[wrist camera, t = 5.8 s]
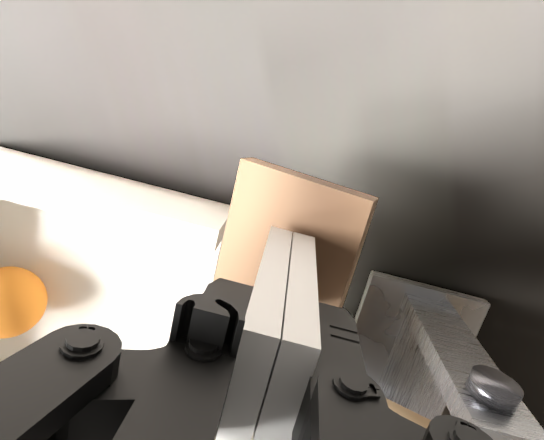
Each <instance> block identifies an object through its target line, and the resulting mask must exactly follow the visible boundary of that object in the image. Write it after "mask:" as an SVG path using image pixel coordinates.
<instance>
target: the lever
mask: <svg viewBox="0 0 544 440" xmlns="http://www.w3.org/2000/svg"><path fill="white" fill-rule="evenodd" d="M378 199H379V197H375V196H372V195H369V194H366V193H363V192H360V191H357V190H353V189H350V188H347V187H344V186H341V185H338V184H335V183H332V182H328V181H325V180H322V179H319V178H316V177H313V176H310V175H307V174H303V173H300V172H297V171H294V170H291V169H288V168H285V167H282V166H278V165H275V164H272V163H269V162H266V161H263V160H260V159H257V158H253V157H251V158H240V163H239V167H238V172H237V176H236V181H235V185H234V190H233V195H232V199H231V204H230V208H229V213H228V218H227V222H226V227H225V231H224V236H223V240H222V245H221V250H220V254H219V259H218V263H217V268H216V272H215V277H214V281H215V280H217V279H218V278H223V279H227V280H231V281H234V282H238V283H242V284H246V285H250V286H254V284H255V281H256V277H257V274H258V270H259V267H260V263H261V260H262V256H263V253H264V249H265V246H266V243H267V239H268V236H269V232H270V229H271V226H273V227H276V228H280V229H284V230H288V231H292V236H293V232H296V233H300V234H304V235H307V236H311V237H315V249H316V266H317V284H318V301H319V302H321V303H325V304H328V305H332V306H336V307H340V308H343V305H344V302H345V299H346V296H347V293H348V290H349V287H350V284H351V281H352V277H353V274H354V271H355V268H356V265H357V262H358V259H359V256H360V253H361V250H362V247H363V244H364V241H365V238H366V235H367V232H368V229H369V226H370V223H371V220H372V217H373V214H374V211H375V208H376V205H377V202H378ZM386 400H387V404H388V407H389V408H390V409H391V410H392V411H394V412H396V413H397V414H399V415H401V416H402V417H404V418H406V419H408V420H410V421H412V422H414V423H416V424H418V425H420V426H422V427H424V428H426V429H427V427H428V425H429V423H430V421H431V420H430V419H428V418H426V417H423V416H421V415H419V414H417V413H415V412H413V411H411V410H409V409H407V408H405V407H403V406H401V405H399V404H397V403H395V402H393V401H391V400H389V399H387V398H386ZM252 438H253V436H252ZM251 440H252V439H251Z"/></svg>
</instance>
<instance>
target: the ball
mask: <svg viewBox="0 0 544 440" xmlns="http://www.w3.org/2000/svg"><path fill="white" fill-rule="evenodd" d="M47 302H48V295H47V290H46V287H45V285H44V283H43V282H42V281H41V279H40V278H39V277H38V276H37V275H35V274H34V273H33V272H31V271H29V270H27V269H24V268H20V267H14V266H6V267H0V339H3V338H11V337H15V336H18V335H20V334H23V333H25V332H27V331H28V330H30V329H31V328H32V327H34V326H35V325H36V324H37V323H38V322H39V320H40V319H41V318H42V316H43V314H44V312H45V310H46V307H47Z"/></svg>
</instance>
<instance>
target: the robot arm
mask: <svg viewBox="0 0 544 440" xmlns="http://www.w3.org/2000/svg"><path fill="white" fill-rule="evenodd" d="M357 333H358V331H357V327H356V322H355V320H354V319H353V317H352V316H351V315H350V314H349V312H348V311H347V310H346V309H344V308H340V307H336V306H332V305H328V304H325V303H321V302H319V301H318V284H317V266H316V249H315V237H311V236H307V235H304V234H300V233H296V232H293V236H292V231H288V230H284V229H280V228H276V227H273V226H271V229H270V232H269V236H268V239H267V243H266V246H265V249H264V253H263V256H262V260H261V263H260V267H259V270H258V274H257V277H256V281H255V284H254V286H250V285H246V284H242V283H238V282H234V281H231V280H227V279H223V278H218V279H217V280H215V281H213V282H211V283H209V284H208V285H207V287H206V289H205V291H204V293H203V294H192V295H189V296H185V297H182V298H181V299H180V300H179V301H178V302H177V303H176V305H175V311H174V316H173V321H172V326H171V332H170V337H169V341H168V343H167V345H166V346H164V347H161V348H156V349H149V350H130V349H122V341H121V339H120V338H119V336H118V334H116V333H115V332H113V331H112V330H110V329H109V328H106V327H103V326H99V325H96V324H76V325H69V326H65V327H62V328H60V329H57V330H55V331H52V332H51V333H49V334H47V335H45V336H44V337H42V338H40V339H39V340H37V341H35V342H33V343H32V344H30V345H28V346H27V347H25V348H23V349H21V350H20V351H18V352H16V353H15V354H13V355H11V356H9V357H8V358H6V359H4V360H2V361H1V362H0V440H251V439H252V440H493V439H492V438H491V437H490V436H489V435H488V434H487V433H485V432H484V431H482V430H481V429H480V428H478V427H477V426H476V425H474V424H472V423H470V422H468V421H466V420H463V419H461V418H458V417H454V416H450V415H440V416H436V417H435V418H433V419H432V420H431V421H430V423H429V425H428V427H427V429H426V428H424V427H422V426H420V425H418V424H416V423H414V422H412V421H410V420H408V419H406V418H404V417H402V416H401V415H399V414H397V413H396V412H394V411H392V410H391V409H390V408H389V407H388V404H387V400H386V397H385V395H384V393H383V391H382V389H381V387H380V386H379V385H378V384H377V383H376V382H375V381H374V380H373V379H372V378H371V377H369V376H368V375H367V372H366V368H365V363H364V358H363V354H362V349H361V345H360V344H359V343H360V340H359V336H358V334H357ZM252 436H253V438H252Z"/></svg>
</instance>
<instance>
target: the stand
mask: <svg viewBox="0 0 544 440" xmlns="http://www.w3.org/2000/svg"><path fill="white" fill-rule="evenodd" d="M490 306H491V305H490V303H489V302H488V301H487V300H486V299H483V298H479V297H475V296H471V295H467V294H463V293H459V292H455V291H451V290H447V289H444V288H440V287H436V286H432V285H428V284H424V283H420V282H416V281H412V280H408V279H404V278H400V277H397V276H393V275H389V274H385V273H381V272H377V271H373V270H371V273H370V275H369V278H368V281H367V284H366V287H365V290H364V293H363V296H362V299H361V302H360V304H359V307H358V310H357V313H356V316H355V319H354V320H355V322H356V327H357V331H358V333H357V334H358V336H359V340H360V343H359V344H360V345H361V349H362V354H363V358H364V363H365V368H366V372H367V375H368V376H369V377H371V378H372V379H373V380H374V381H375V382H376V383H377V384H378V385H379V386H380V387H381V389H382V391H383V393H384V395H385V397H386V398H387V399H389V400H391V401H393V402H395V403H397V404H399V405H401V406H403V407H405V408H407V409H409V410H411V411H413V412H415V413H417V414H419V415H421V416H423V417H426V418H428V419H430V420H432V419H433V418H435V417H436V416H440V415H450V416H454V417H458V418H461V419H463V420H466V421H468V422H470V423H472V424H474V425H476V426H477V427H478V428H480V429H481V430H482V431H484V432H485V433H487V434H488V435H489V436H490V437H491V438H492V439H493V440H544V430H543V428H542V427H541V426H540V424H539V423H538V421H537V420H536V419H535V417H534V416H533V415H532V413H531V412H530V411H529V409H528V408H527V406H526V405H525V404H524V402H523V401H522V399H523V397H524V392H523V389H522V388H521V387H520V385H519V384H518V383H517V382H516V381H515V380H513V379H512V378H511V377H509V376H508V375H506V374H505V373H503V372H501V371H500V370H499V368H498V367H497V366H496V364H495V363H494V361H493V360H492V359H491V357H490V356H489V355H488V353H487V352H486V351H485V349H484V348H483V346H482V345H481V344H480V342H479V341H478V340H477V338H476V336H477V334H478V332H479V330H480V328H481V325H482V323H483V321H484V319H485V317H486V314H487V312H488V310H489V308H490Z"/></svg>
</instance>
